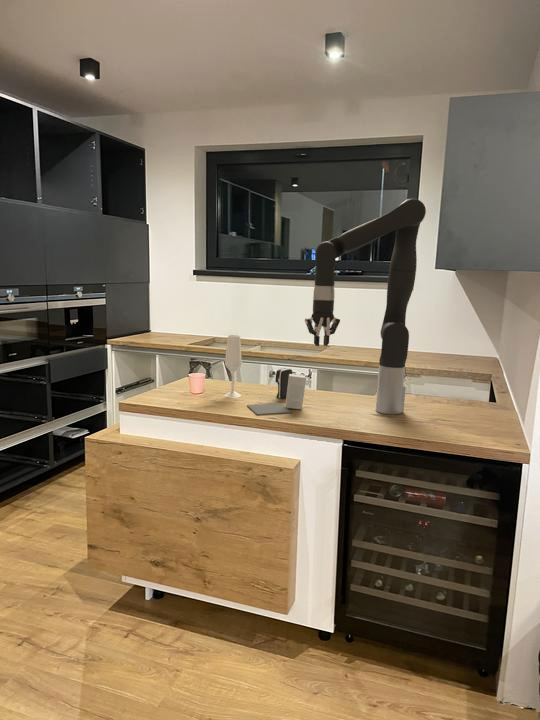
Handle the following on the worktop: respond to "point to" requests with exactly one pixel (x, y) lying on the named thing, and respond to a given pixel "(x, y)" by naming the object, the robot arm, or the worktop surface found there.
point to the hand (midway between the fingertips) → (321, 345)
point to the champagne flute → (233, 360)
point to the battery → (282, 381)
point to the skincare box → (295, 391)
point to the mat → (269, 409)
